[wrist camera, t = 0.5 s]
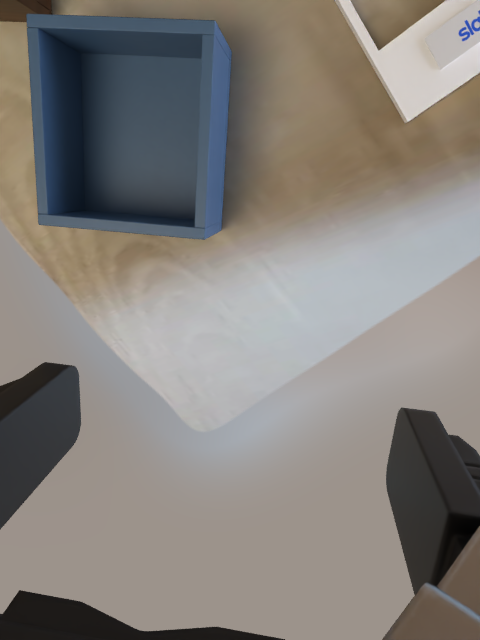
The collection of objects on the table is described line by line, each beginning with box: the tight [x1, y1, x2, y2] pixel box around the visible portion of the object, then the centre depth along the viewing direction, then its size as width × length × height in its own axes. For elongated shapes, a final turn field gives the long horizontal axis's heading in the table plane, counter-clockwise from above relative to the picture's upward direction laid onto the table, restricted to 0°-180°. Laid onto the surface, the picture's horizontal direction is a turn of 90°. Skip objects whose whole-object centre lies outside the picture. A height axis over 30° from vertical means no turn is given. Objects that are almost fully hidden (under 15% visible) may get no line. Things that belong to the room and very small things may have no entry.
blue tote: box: [26, 14, 232, 240], centre depth 34 cm, size 14×13×7 cm
